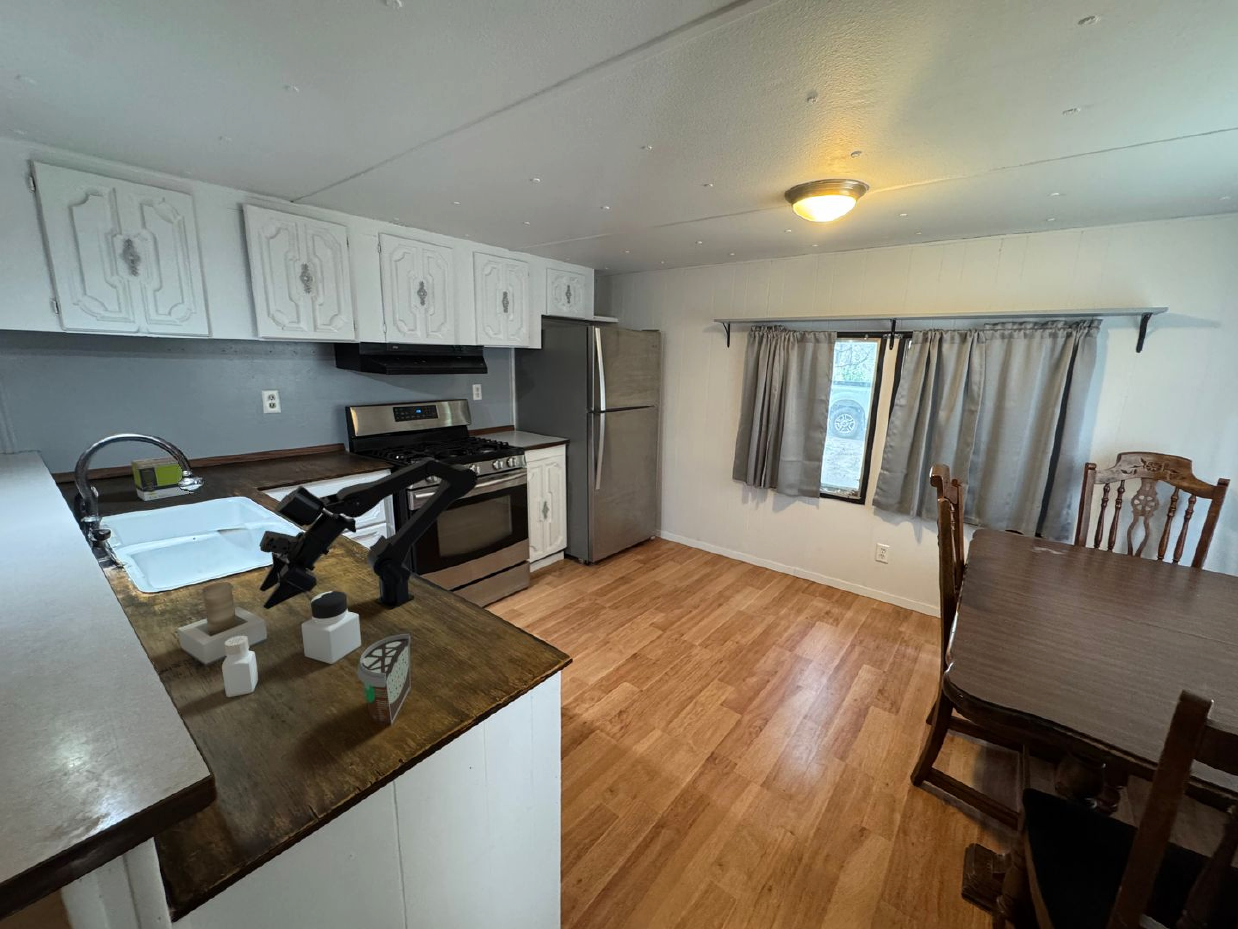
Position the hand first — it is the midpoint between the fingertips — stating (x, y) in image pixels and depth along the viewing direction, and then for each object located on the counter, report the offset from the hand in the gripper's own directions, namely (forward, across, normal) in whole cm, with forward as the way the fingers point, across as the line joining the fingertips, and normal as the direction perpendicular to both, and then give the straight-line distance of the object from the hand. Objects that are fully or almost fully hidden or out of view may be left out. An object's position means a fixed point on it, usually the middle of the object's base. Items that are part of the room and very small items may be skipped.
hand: (263, 599), depth 102 cm
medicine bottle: (-1, +15, +13) cm, 20 cm away
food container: (-4, +37, +15) cm, 40 cm away
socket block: (+11, 0, 0) cm, 11 cm away
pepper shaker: (+9, +19, +2) cm, 21 cm away
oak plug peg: (+10, 0, 0) cm, 10 cm away
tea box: (+22, -140, -10) cm, 142 cm away
